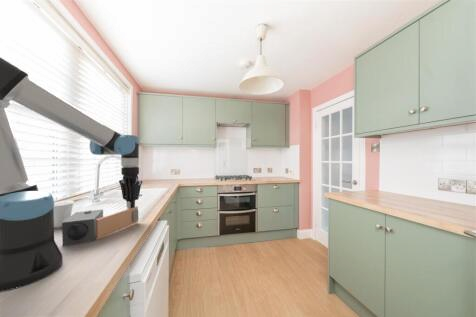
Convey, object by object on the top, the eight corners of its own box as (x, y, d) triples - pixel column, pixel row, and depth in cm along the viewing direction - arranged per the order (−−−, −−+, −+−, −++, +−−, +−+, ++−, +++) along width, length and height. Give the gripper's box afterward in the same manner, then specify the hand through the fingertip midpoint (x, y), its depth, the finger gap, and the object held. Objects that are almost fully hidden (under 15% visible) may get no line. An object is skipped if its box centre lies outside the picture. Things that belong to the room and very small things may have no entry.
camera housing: (93, 242, 74) (92, 218, 73) (60, 247, 70) (59, 221, 69) (103, 228, 88) (102, 207, 88) (76, 231, 84) (76, 210, 84)
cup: (69, 227, 89) (68, 204, 89) (41, 230, 85) (41, 207, 85) (78, 220, 98) (77, 200, 98) (53, 223, 94) (53, 201, 94)
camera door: (99, 239, 75) (98, 220, 75) (96, 239, 76) (95, 219, 75) (139, 222, 94) (139, 206, 94) (136, 221, 95) (136, 206, 94)
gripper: (146, 166, 93) (147, 213, 94) (127, 165, 97) (127, 210, 98) (133, 167, 86) (134, 217, 87) (113, 166, 90) (114, 214, 91)
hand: (130, 213), depth 92 cm, fingers closed
